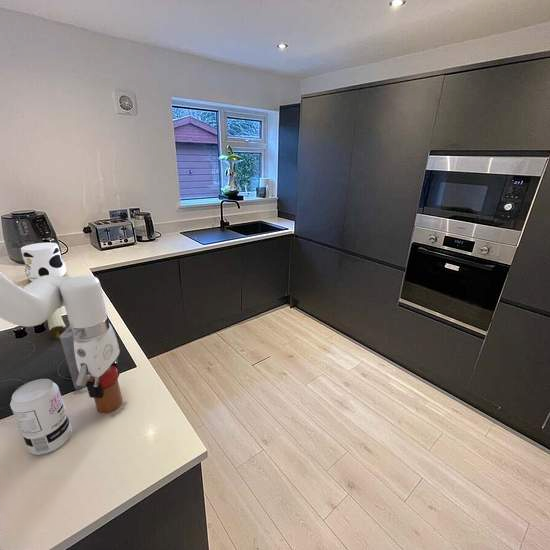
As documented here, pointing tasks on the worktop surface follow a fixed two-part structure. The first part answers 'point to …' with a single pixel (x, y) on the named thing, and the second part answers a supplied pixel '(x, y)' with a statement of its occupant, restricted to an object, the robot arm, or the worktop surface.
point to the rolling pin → (56, 324)
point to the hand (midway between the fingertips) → (105, 385)
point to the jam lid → (107, 377)
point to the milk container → (42, 260)
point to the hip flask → (70, 355)
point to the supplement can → (41, 415)
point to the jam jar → (109, 399)
